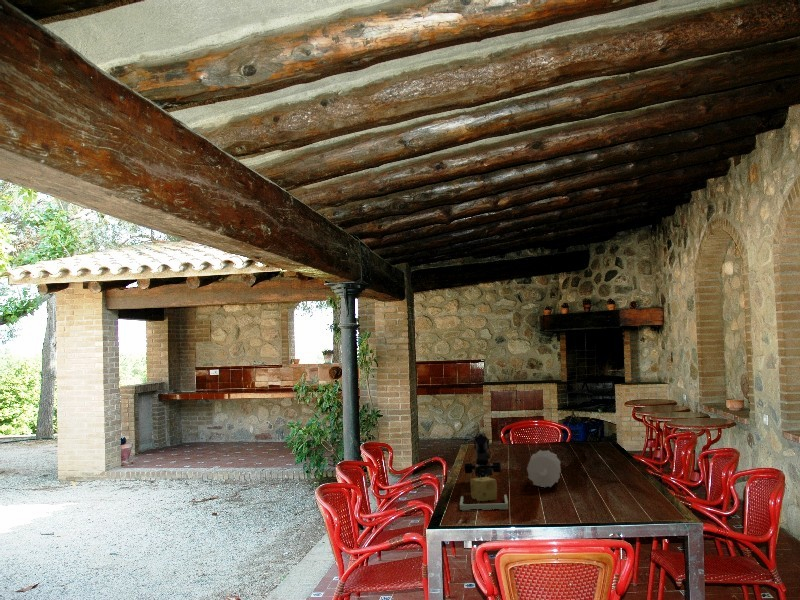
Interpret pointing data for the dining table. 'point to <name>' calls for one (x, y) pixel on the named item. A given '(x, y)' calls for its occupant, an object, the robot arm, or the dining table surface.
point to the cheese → (483, 488)
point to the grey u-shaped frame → (484, 505)
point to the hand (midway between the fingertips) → (483, 481)
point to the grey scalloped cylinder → (544, 468)
